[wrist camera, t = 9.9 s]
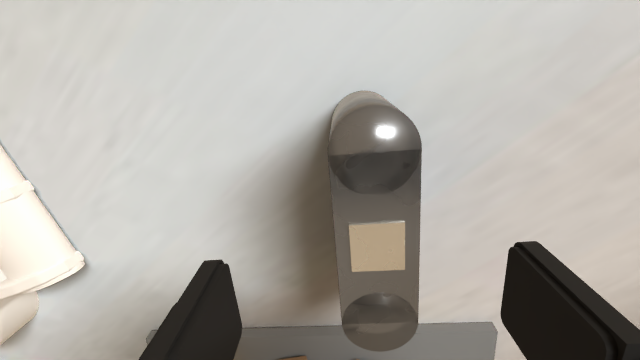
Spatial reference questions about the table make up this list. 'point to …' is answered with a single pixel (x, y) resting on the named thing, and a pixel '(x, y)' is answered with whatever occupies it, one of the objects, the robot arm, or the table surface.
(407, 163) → the chain link
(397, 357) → the index base plate
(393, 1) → the table surface
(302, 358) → the sprocket wheel
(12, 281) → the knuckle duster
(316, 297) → the table surface
